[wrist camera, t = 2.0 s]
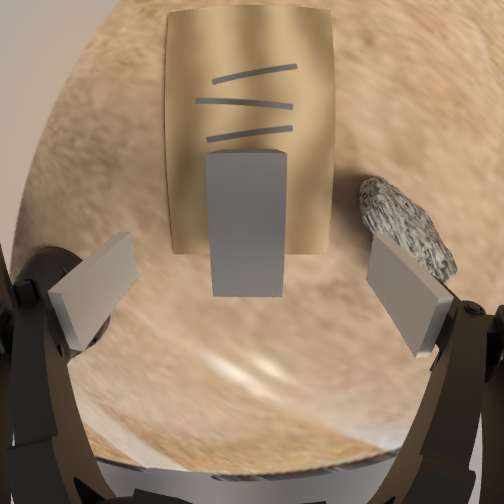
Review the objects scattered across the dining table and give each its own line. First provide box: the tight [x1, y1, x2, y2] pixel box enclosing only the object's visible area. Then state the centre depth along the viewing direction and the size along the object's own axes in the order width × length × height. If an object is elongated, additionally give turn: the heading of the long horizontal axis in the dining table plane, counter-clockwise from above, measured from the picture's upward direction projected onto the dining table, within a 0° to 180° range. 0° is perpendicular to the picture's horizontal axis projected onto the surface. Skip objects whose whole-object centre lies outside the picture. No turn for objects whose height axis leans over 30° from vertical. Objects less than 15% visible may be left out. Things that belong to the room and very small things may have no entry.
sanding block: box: [205, 149, 287, 297], centre depth 22 cm, size 10×5×9 cm, turn 0°
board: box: [165, 5, 335, 254], centre depth 24 cm, size 16×26×1 cm, turn 0°
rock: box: [359, 176, 457, 284], centre depth 24 cm, size 16×8×10 cm, turn 40°
